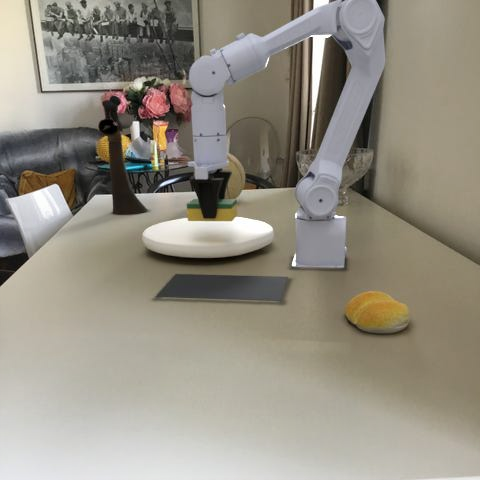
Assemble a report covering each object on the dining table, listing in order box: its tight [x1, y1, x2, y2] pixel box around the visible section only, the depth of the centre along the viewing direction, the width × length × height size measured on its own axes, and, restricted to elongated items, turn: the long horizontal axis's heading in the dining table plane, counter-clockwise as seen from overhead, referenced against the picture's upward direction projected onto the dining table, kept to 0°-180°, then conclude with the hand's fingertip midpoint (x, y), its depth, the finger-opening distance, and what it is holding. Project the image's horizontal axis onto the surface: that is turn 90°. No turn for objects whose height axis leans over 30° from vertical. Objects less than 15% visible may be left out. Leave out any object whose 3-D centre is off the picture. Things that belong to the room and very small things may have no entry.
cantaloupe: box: [193, 152, 246, 199], centre depth 161 cm, size 15×15×15 cm
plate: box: [141, 216, 275, 259], centre depth 116 cm, size 28×6×27 cm
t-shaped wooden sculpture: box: [97, 95, 148, 215], centre depth 151 cm, size 32×10×30 cm, turn 4°
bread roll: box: [344, 290, 411, 334], centre depth 78 cm, size 8×9×4 cm
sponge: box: [186, 198, 238, 221], centre depth 101 cm, size 8×5×3 cm, turn 80°
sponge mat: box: [155, 273, 289, 302], centre depth 94 cm, size 20×12×1 cm, turn 80°
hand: (213, 214), depth 101 cm, fingers closed on sponge, 5 cm apart
